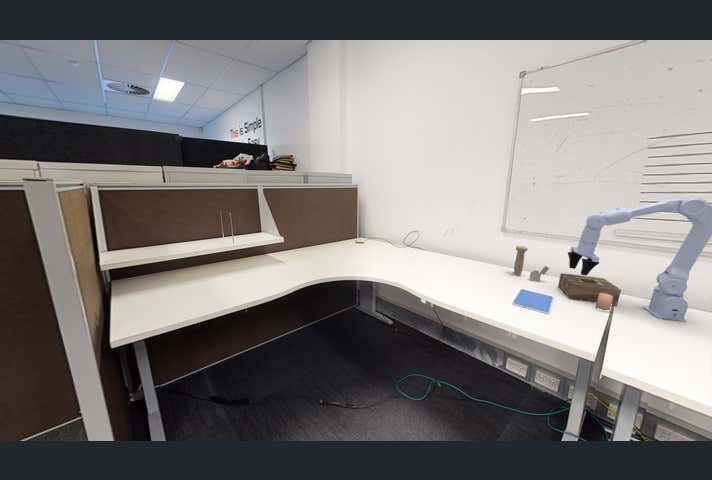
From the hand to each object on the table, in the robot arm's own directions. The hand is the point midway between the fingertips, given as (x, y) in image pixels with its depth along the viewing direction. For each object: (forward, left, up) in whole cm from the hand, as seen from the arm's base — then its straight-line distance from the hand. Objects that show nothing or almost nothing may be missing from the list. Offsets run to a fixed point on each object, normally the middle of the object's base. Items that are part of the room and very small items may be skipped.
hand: (577, 271), depth 116 cm
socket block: (-2, -4, -10) cm, 11 cm away
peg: (-15, -5, -10) cm, 18 cm away
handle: (+16, +19, -10) cm, 27 cm away
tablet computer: (-18, +19, -11) cm, 28 cm away
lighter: (+10, +11, -10) cm, 18 cm away
